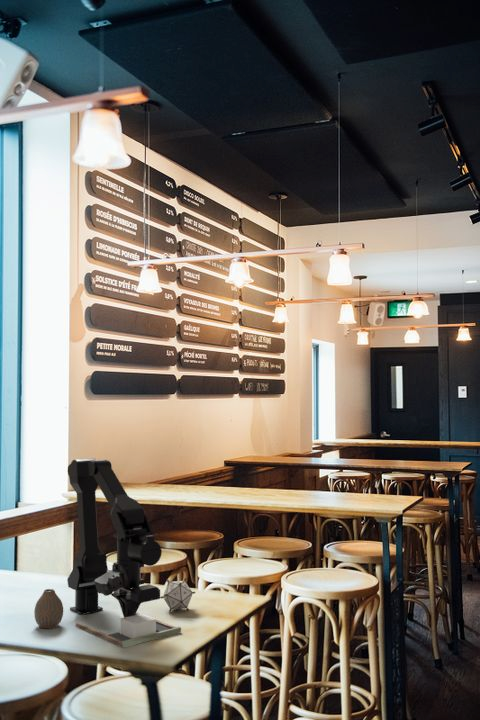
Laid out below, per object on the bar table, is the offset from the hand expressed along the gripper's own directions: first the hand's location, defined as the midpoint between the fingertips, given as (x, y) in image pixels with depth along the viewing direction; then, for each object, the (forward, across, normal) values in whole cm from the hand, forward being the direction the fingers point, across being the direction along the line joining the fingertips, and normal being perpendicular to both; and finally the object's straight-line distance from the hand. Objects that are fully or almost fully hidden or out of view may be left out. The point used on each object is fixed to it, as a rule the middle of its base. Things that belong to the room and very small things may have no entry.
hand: (128, 623), depth 185 cm
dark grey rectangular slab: (+1, +5, 0) cm, 5 cm away
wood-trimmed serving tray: (+1, 0, 0) cm, 1 cm away
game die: (+2, -6, +19) cm, 20 cm away
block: (+2, +5, 0) cm, 5 cm away
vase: (+2, -16, -13) cm, 20 cm away
